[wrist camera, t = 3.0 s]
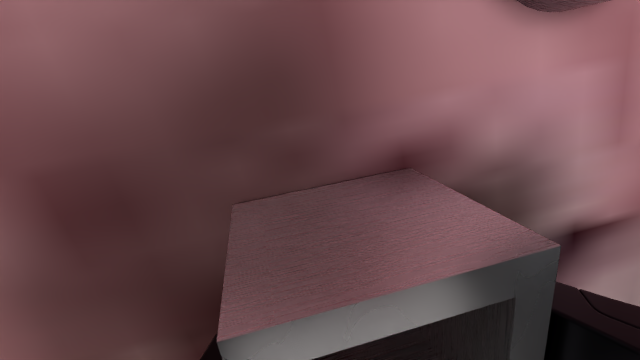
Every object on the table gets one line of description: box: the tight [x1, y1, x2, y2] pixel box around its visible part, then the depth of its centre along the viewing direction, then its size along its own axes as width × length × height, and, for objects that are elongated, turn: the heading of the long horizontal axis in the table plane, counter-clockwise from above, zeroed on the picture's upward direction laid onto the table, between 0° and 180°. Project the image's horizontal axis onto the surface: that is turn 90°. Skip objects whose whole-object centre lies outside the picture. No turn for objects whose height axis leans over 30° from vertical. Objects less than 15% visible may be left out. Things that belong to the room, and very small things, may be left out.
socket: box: [217, 168, 561, 360], centre depth 8 cm, size 6×6×5 cm
